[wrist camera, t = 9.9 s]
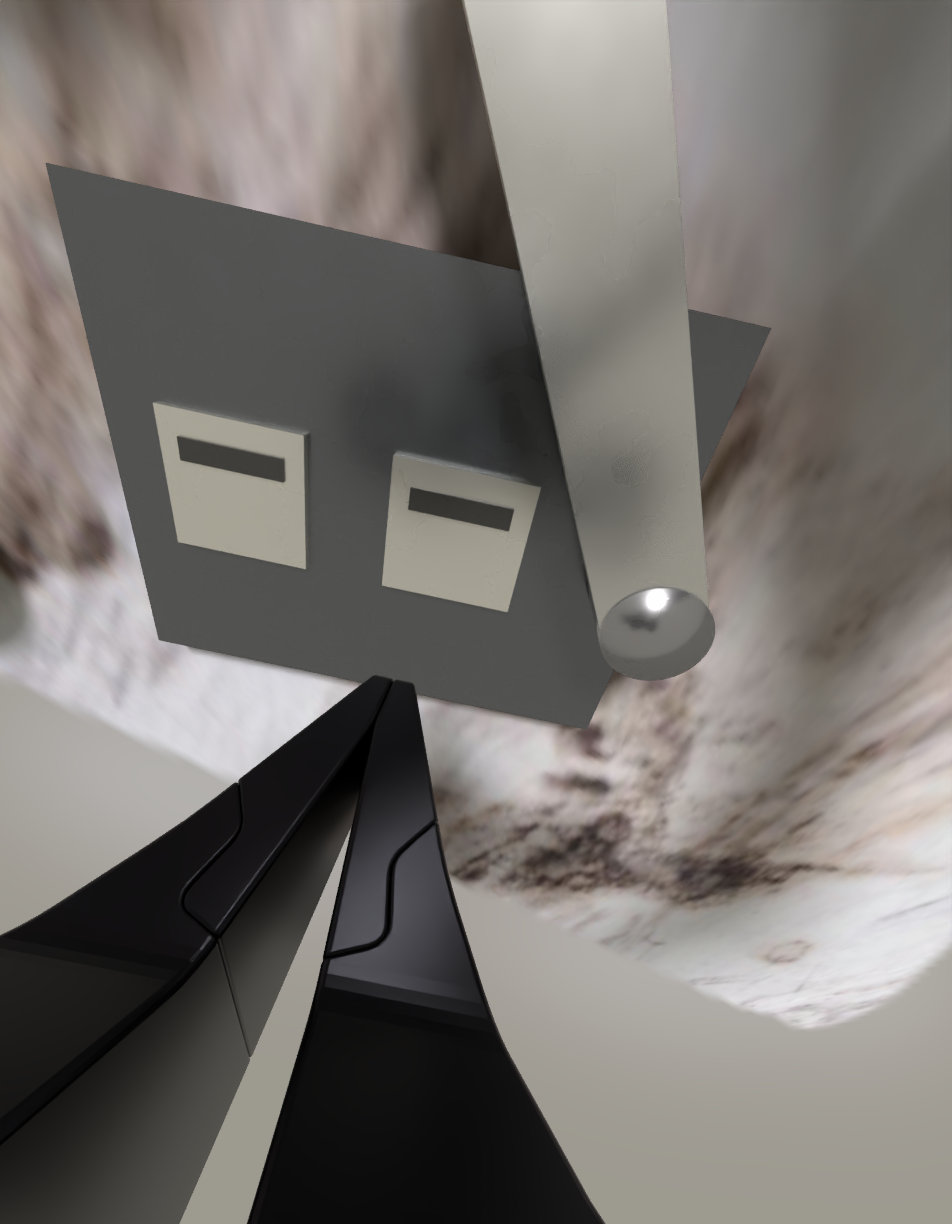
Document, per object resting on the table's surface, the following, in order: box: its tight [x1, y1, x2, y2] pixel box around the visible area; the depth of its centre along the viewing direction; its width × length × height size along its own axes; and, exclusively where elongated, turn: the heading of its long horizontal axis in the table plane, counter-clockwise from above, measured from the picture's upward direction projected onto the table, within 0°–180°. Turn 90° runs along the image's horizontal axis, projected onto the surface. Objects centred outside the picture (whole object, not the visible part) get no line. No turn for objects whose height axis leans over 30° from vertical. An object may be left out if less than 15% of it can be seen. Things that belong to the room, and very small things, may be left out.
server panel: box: [46, 163, 771, 729], centre depth 17 cm, size 21×16×2 cm
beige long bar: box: [462, 0, 715, 681], centre depth 10 cm, size 21×3×3 cm, turn 18°
